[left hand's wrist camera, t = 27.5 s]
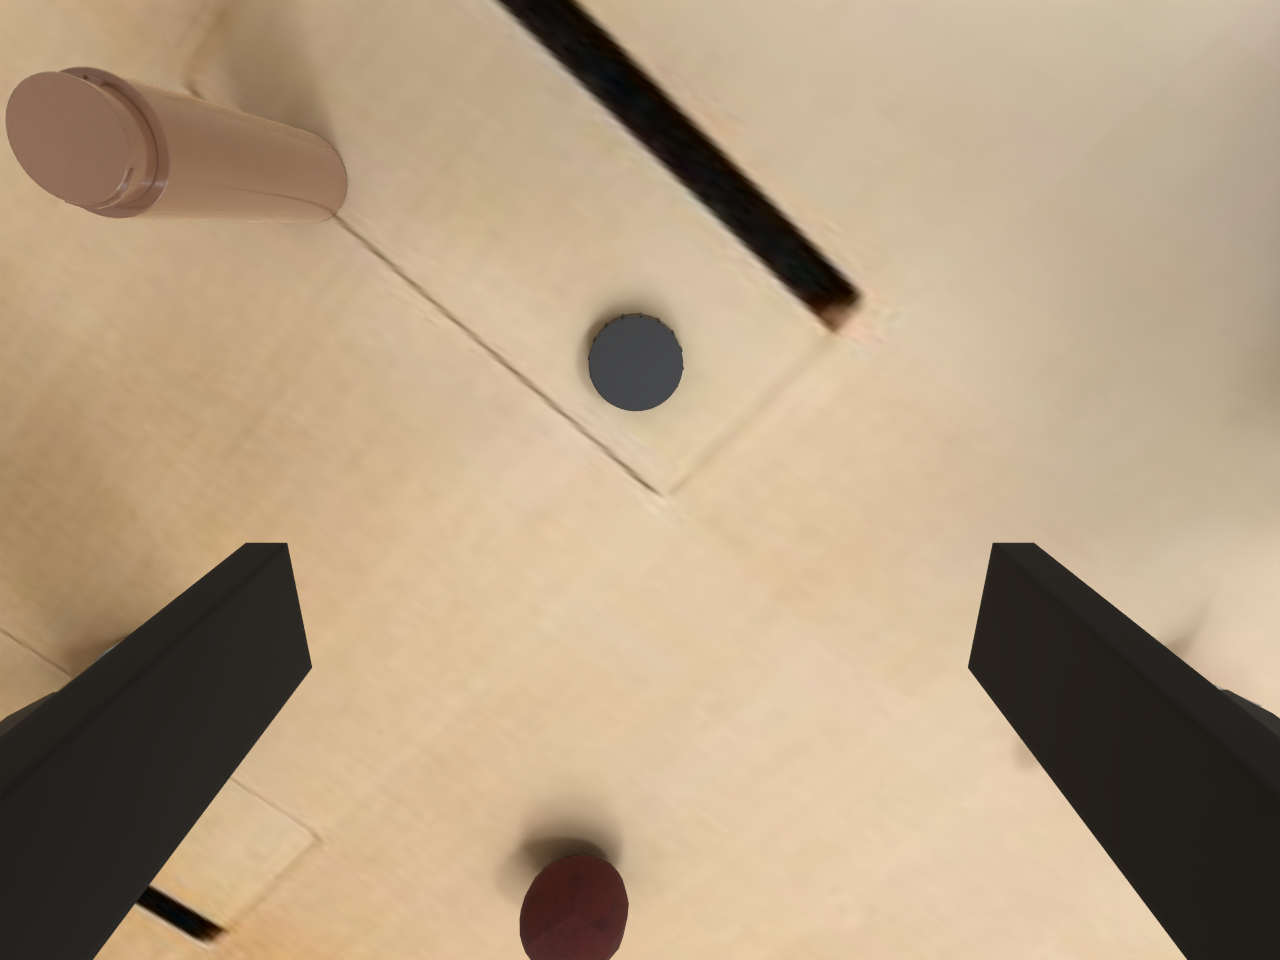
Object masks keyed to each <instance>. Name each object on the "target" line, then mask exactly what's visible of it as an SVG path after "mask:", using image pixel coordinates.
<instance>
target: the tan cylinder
mask: <svg viewBox="0 0 1280 960" xmlns="http://www.w3.org/2000/svg"><path fill="white" fill-rule="evenodd" d="M6 129H7V135H8V139H9V142H10V145H11V148H12V150H13V152H14V154H15V156H16V158H17V160H18V162H19V163H20V165H21V166H22V168H23V169H24V170H25V172H26V173H27V174H28V175H29V176H30V177H31V178H32V179H33V180H34V181H35V182H36V183H37V184H38V185H39V186H40V187H42V188H43V189H44V190H46V191H47V192H49V193H50V194H52V195H54V196H56V197H58V198H60V199H62V200H64V201H65V202H66V203H69V204H72V205H76V206H79V207H81V208H84V209H86V210H87V211H89V212H92V213H95V214H97V215H100V216H104V217H109V218H118V219H160V220H202V221H244V222H286V223H318V222H322V221H325V220H327V219H329V218H331V217H332V216H333V215H335V214H336V213H337V212H338V210H339V209H340V208H341V206H342V204H343V202H344V200H345V197H346V192H347V176H346V172H345V168H344V165H343V163H342V161H341V159H340V157H339V155H338V154H337V152H336V151H335V150H334V148H333V147H332V146H331V145H330V144H329V143H328V142H327V141H325V140H324V139H323V138H321V137H320V136H318V135H316V134H314V133H311V132H308V131H305V130H302V129H298V128H295V127H292V126H288V125H285V124H282V123H278V122H275V121H272V120H268V119H265V118H262V117H258V116H255V115H252V114H248V113H245V112H242V111H238V110H235V109H232V108H228V107H225V106H222V105H218V104H215V103H212V102H208V101H205V100H202V99H198V98H195V97H192V96H188V95H185V94H182V93H178V92H175V91H172V90H168V89H165V88H162V87H158V86H155V85H152V84H148V83H145V82H142V81H138V80H135V79H132V78H128V77H125V76H122V75H118V74H115V73H112V72H108V71H105V70H101V69H98V68H92V67H73V68H67V69H65V70H62V71H59V72H42V73H38V74H35V75H32V76H30V77H28V78H26V79H24V80H23V81H22V82H21V83H20V84H19V85H18V86H17V87H16V88H15V89H14V91H13V93H12V94H11V96H10V99H9V101H8V105H7V109H6Z"/></svg>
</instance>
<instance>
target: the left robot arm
mask: <svg viewBox="0 0 1280 960" xmlns="http://www.w3.org/2000/svg"><path fill="white" fill-rule="evenodd" d="M311 668H312V665H311V660H310V655H309V650H308V645H307V640H306V635H305V630H304V625H303V620H302V615H301V610H300V605H299V600H298V595H297V590H296V585H295V580H294V575H293V570H292V565H291V560H290V555H289V550H288V545H287V543H245V544H244V545H243V546H241V547H240V548H239V549H238V550H236V551H235V552H234V553H233V554H231V555H230V556H229V557H227V558H226V559H225V560H224V561H222V562H221V563H220V564H219V565H217V566H216V567H215V568H214V569H212V570H211V571H210V572H209V573H207V574H206V575H205V576H203V577H202V578H201V579H200V580H198V581H197V582H196V583H195V584H193V585H192V586H191V587H190V588H188V589H187V590H186V591H185V592H183V593H182V594H181V595H179V596H178V597H177V598H176V599H174V600H173V601H172V602H171V603H169V604H168V605H167V606H166V607H164V608H163V609H162V610H161V611H159V612H158V613H157V614H155V615H154V616H153V617H152V618H150V619H149V620H148V621H147V622H145V623H144V624H143V625H142V626H140V627H139V628H138V629H137V630H135V631H134V632H133V633H131V634H130V635H129V636H128V637H126V638H125V639H124V640H123V641H121V642H120V643H119V644H118V645H116V646H115V647H114V648H113V649H111V650H110V651H109V652H107V653H106V654H105V655H104V656H102V657H101V658H100V659H99V660H97V661H96V662H95V663H94V664H92V665H91V666H90V667H89V668H87V669H86V670H85V671H83V672H82V673H81V674H80V675H78V676H77V677H76V678H75V679H73V680H72V681H71V682H70V683H68V684H67V685H66V686H65V687H63V688H62V689H61V690H59V691H58V692H53V693H51V694H49V695H47V696H45V697H43V698H41V699H39V700H38V701H36V702H34V703H32V704H30V705H28V706H26V707H24V708H22V709H21V710H19V711H17V712H15V713H13V714H11V715H9V716H7V717H6V718H5V719H3V720H2V721H1V722H0V960H93V959H94V957H95V956H96V955H97V953H98V952H99V951H100V949H101V948H102V947H103V945H104V944H105V943H106V941H107V940H108V939H109V937H110V936H111V935H112V933H113V932H114V931H115V929H116V928H117V927H118V925H119V924H120V923H121V921H122V920H123V919H124V917H125V916H126V915H127V913H128V912H129V911H130V909H131V908H132V907H133V906H134V904H135V903H136V902H137V900H138V899H139V898H140V896H141V895H142V894H143V892H144V891H145V890H146V888H147V887H148V886H149V884H150V883H151V882H152V880H153V879H154V878H155V876H156V875H157V874H158V872H159V871H160V870H161V868H162V867H163V866H164V864H165V863H166V862H167V860H168V859H169V858H170V856H171V855H172V854H173V852H174V851H175V850H176V848H177V847H178V846H179V844H180V843H181V842H182V840H183V839H184V838H185V836H186V835H187V834H188V832H189V831H190V830H191V828H192V827H193V826H194V824H195V823H196V822H197V820H198V819H199V818H200V816H201V815H202V814H203V812H204V811H205V810H206V808H207V807H208V806H209V804H210V803H211V802H212V800H213V799H214V798H215V796H216V795H217V794H218V792H219V791H220V790H221V788H222V787H223V786H224V784H225V783H226V782H227V780H228V779H229V778H230V776H231V775H232V774H233V772H234V771H235V770H236V768H237V767H238V766H239V764H240V763H241V762H242V760H243V759H244V758H245V756H246V755H247V754H248V752H249V751H250V750H251V748H252V747H253V746H254V744H255V743H256V742H257V740H258V739H259V738H260V736H261V735H262V734H263V732H264V731H265V730H266V728H267V727H268V726H269V724H270V723H271V722H272V720H273V719H274V718H275V716H276V715H277V714H278V712H279V711H280V710H281V708H282V707H283V706H284V704H285V703H286V702H287V700H288V699H289V698H290V696H291V695H292V694H293V692H294V691H295V690H296V688H297V687H298V686H299V684H300V683H301V682H302V680H303V679H304V678H305V676H306V675H307V674H308V672H309V671H310V670H311ZM968 668H969V670H970V671H971V672H972V674H973V675H974V676H975V678H976V679H977V680H978V682H979V683H980V684H981V686H982V687H983V688H984V690H985V691H986V692H987V694H988V695H989V696H990V698H991V699H992V700H993V702H994V703H995V704H996V706H997V707H998V708H999V710H1000V711H1001V712H1002V714H1003V715H1004V716H1005V718H1006V719H1007V720H1008V722H1009V723H1010V724H1011V726H1012V727H1013V728H1014V730H1015V731H1016V732H1017V734H1018V735H1019V736H1020V738H1021V739H1022V740H1023V742H1024V743H1025V744H1026V746H1027V747H1028V748H1029V750H1030V751H1031V752H1032V754H1033V755H1034V756H1035V758H1036V759H1037V760H1038V762H1039V763H1040V764H1041V766H1042V767H1043V768H1044V770H1045V771H1046V772H1047V774H1048V775H1049V776H1050V778H1051V779H1052V780H1053V782H1054V783H1055V784H1056V786H1057V787H1058V788H1059V790H1060V791H1061V792H1062V794H1063V795H1064V796H1065V798H1066V799H1067V800H1068V802H1069V803H1070V804H1071V806H1072V807H1073V808H1074V810H1075V811H1076V812H1077V814H1078V815H1079V816H1080V818H1081V819H1082V820H1083V822H1084V823H1085V824H1086V826H1087V827H1088V828H1089V830H1090V831H1091V832H1092V834H1093V835H1094V836H1095V838H1096V839H1097V840H1098V842H1099V843H1100V844H1101V846H1102V847H1103V848H1104V850H1105V851H1106V852H1107V854H1108V855H1109V856H1110V858H1111V859H1112V860H1113V862H1114V863H1115V864H1116V866H1117V867H1118V868H1119V870H1120V871H1121V872H1122V874H1123V875H1124V876H1125V878H1126V879H1127V880H1128V882H1129V883H1130V884H1131V886H1132V887H1133V888H1134V890H1135V891H1136V892H1137V894H1138V895H1139V896H1140V898H1141V899H1142V900H1143V902H1144V903H1145V904H1146V906H1147V907H1148V908H1149V910H1150V911H1151V912H1152V913H1153V915H1154V916H1155V917H1156V919H1157V920H1158V921H1159V923H1160V924H1161V925H1162V927H1163V928H1164V929H1165V931H1166V932H1167V933H1168V935H1169V936H1170V937H1171V939H1172V940H1173V941H1174V943H1175V944H1176V945H1177V947H1178V948H1179V949H1180V951H1181V952H1182V953H1183V955H1184V956H1185V957H1186V959H1187V960H1280V718H1278V717H1277V716H1276V715H1274V714H1273V713H1271V712H1269V711H1267V710H1265V709H1263V708H1261V707H1259V706H1258V705H1256V704H1254V703H1252V702H1250V701H1248V700H1246V699H1244V698H1242V697H1240V696H1238V695H1237V694H1235V693H1233V692H1231V691H1229V690H1219V689H1218V688H1217V687H1215V686H1214V685H1213V684H1212V683H1210V682H1209V681H1208V680H1207V679H1205V678H1204V677H1203V676H1202V675H1200V674H1199V673H1198V672H1197V671H1195V670H1194V669H1193V668H1191V667H1190V666H1189V665H1188V664H1186V663H1185V662H1184V661H1183V660H1181V659H1180V658H1179V657H1178V656H1176V655H1175V654H1174V653H1173V652H1171V651H1170V650H1169V649H1167V648H1166V647H1165V646H1164V645H1162V644H1161V643H1160V642H1159V641H1157V640H1156V639H1155V638H1154V637H1152V636H1151V635H1150V634H1149V633H1147V632H1146V631H1145V630H1143V629H1142V628H1141V627H1140V626H1138V625H1137V624H1136V623H1135V622H1133V621H1132V620H1131V619H1130V618H1128V617H1127V616H1126V615H1125V614H1123V613H1122V612H1121V611H1119V610H1118V609H1117V608H1116V607H1114V606H1113V605H1112V604H1111V603H1109V602H1108V601H1107V600H1106V599H1104V598H1103V597H1102V596H1101V595H1099V594H1098V593H1097V592H1095V591H1094V590H1093V589H1092V588H1090V587H1089V586H1088V585H1087V584H1085V583H1084V582H1083V581H1082V580H1080V579H1079V578H1078V577H1077V576H1075V575H1074V574H1073V573H1071V572H1070V571H1069V570H1068V569H1066V568H1065V567H1064V566H1063V565H1061V564H1060V563H1059V562H1058V561H1056V560H1055V559H1054V558H1053V557H1051V556H1050V555H1049V554H1047V553H1046V552H1045V551H1044V550H1042V549H1041V548H1040V547H1039V546H1037V545H1036V544H1035V543H993V544H992V550H991V555H990V560H989V565H988V570H987V575H986V580H985V585H984V590H983V595H982V600H981V605H980V610H979V615H978V620H977V625H976V630H975V635H974V640H973V645H972V650H971V655H970V660H969V665H968Z"/></svg>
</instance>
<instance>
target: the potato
mask: <svg viewBox="0 0 1280 960" xmlns="http://www.w3.org/2000/svg"><path fill="white" fill-rule="evenodd" d="M628 905H629V903H628V898H627V893H626V890H625V886H624V883H623V880H622V878H621V876H620V874H619V872H618V871H617V870H616V869H615V868H614V867H613V866H612V865H611V864H610V863H608V862H606V861H604V860H601V859H599V858H597V857H595V856H590V855H575V856H570V857H566V858H563V859H561V860H558V861H555V862H553V863H551V864H550V865H548V866H547V867H545V868H544V869H543V870H542V871H541V872H540V873H539V874H538V875H537V876H536V877H535V879H534V881H533V883H532V884H531V886H530V888H529V890H528V892H527V893H526V895H525V898H524V901H523V905H522V908H521V913H520V937H521V941H522V945H523V947H524V950H525V953H526V954H527V955H528V957H529V958H530V960H610V958H611V957H612V956H613V955H614V954H615V952H616V951H617V950H618V949H619V946H620V944H621V941H622V938H623V935H624V930H625V926H626V921H627V916H628Z"/></svg>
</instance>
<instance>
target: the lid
mask: <svg viewBox="0 0 1280 960" xmlns="http://www.w3.org/2000/svg"><path fill="white" fill-rule="evenodd" d="M593 342H594V343H593V346H592V348H591V351H590V354H589V356H588V360H589V372H590V378H591V380H592V382H593V385H594V387H595V388H596V390H597V391H598V393H599V394H600V395H601V396H602V397H603V398H604V399H605V400H606V401H607V402H609V403H610V404H612V405H614V406H616V407H618V408H621V409H624V410H628V411H643V410H648V409H652V408H654V407H656V406H658V405H660V404H662V403H663V402H664V401H666V400H667V399H668V398H669V397H670V396H671V395H672V394H673V392H674V391H675V390H676V388H677V387H678V384H679V382H680V379H681V375H682V370H684V368H683V358H682V353H681V352H682V348H681V347H680V346H679V344H678V341H677V339H676V337H675V336H674V331H673V330H672V331H671V330H670V329H669V328H668V327H667V326H666V325H665V324H664V323H662V322H661V321H660V319H659V318H658V319H656V318H653V317H651V316H647V315H642V313H640V314H629V315H624V314H622V315H621V317H618V318H616V319H614V320H613V321H611V322H609V323H606V324H605V327H604V328H603V329H602V330H601V331H600V332H599V334H598V335H597V337H594V340H593Z"/></svg>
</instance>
